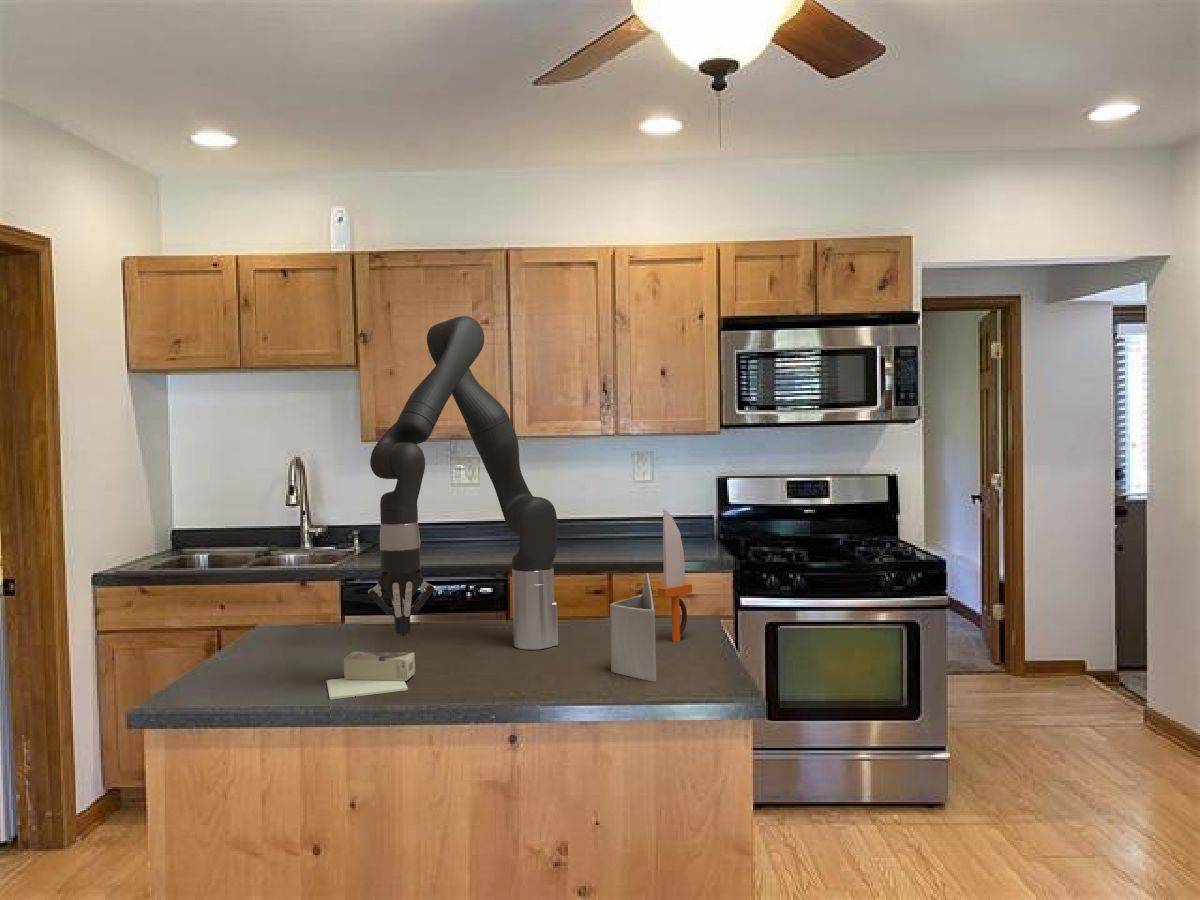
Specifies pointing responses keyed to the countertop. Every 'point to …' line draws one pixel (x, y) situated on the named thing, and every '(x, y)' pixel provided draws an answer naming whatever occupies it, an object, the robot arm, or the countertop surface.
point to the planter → (634, 636)
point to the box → (379, 666)
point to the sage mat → (362, 687)
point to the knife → (674, 574)
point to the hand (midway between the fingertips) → (402, 635)
